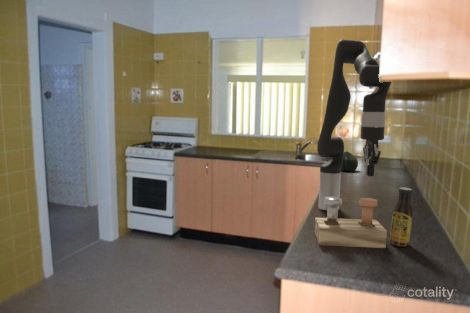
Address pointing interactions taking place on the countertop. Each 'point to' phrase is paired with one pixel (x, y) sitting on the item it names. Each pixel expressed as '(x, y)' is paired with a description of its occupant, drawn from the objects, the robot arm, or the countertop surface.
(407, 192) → the sauce bottle
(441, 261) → the countertop surface
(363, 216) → the terracotta peg
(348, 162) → the squash
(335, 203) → the grey peg
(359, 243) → the beech block
